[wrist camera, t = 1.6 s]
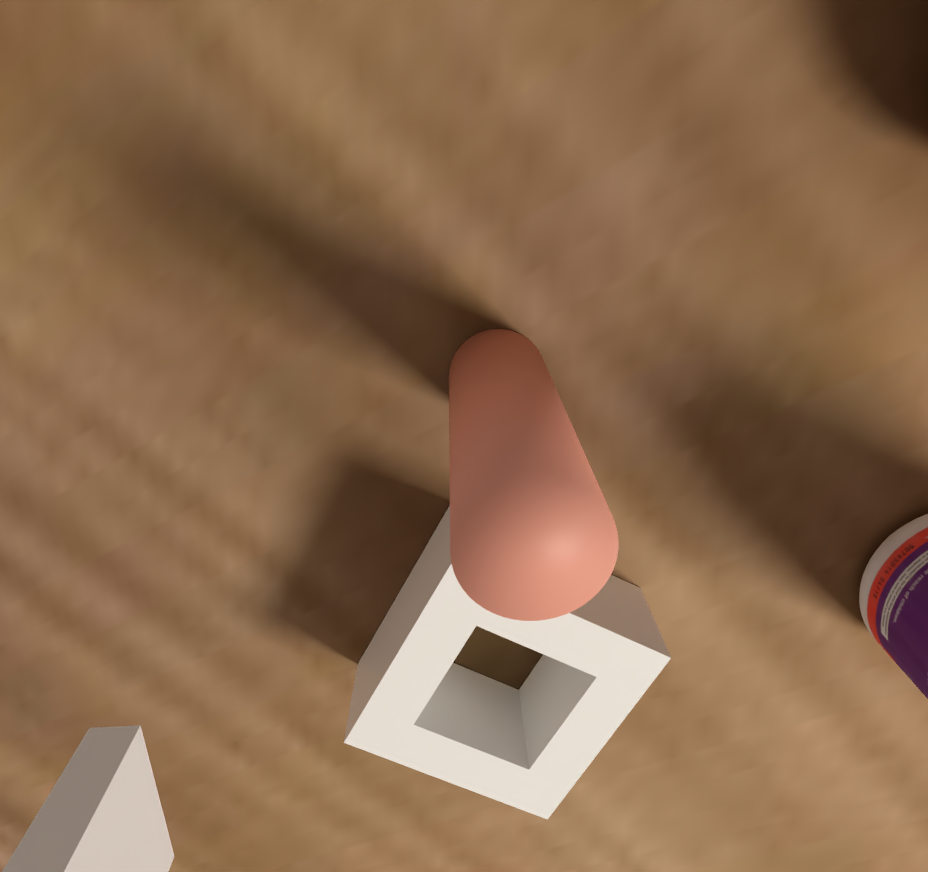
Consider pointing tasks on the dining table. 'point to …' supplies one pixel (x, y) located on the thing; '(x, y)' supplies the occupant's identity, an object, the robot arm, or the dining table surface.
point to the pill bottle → (900, 599)
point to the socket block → (500, 686)
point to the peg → (521, 486)
